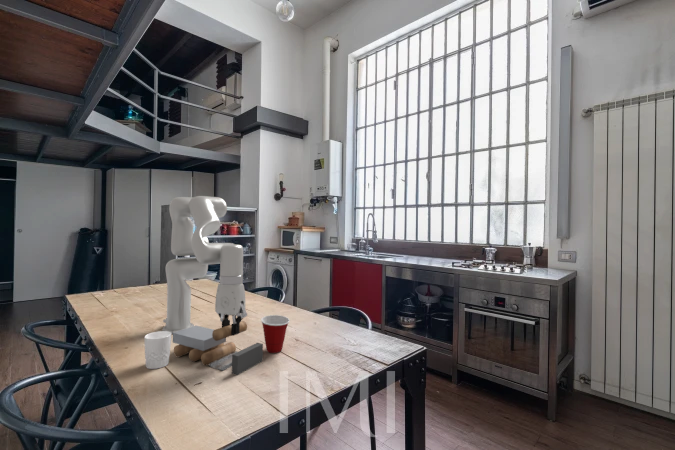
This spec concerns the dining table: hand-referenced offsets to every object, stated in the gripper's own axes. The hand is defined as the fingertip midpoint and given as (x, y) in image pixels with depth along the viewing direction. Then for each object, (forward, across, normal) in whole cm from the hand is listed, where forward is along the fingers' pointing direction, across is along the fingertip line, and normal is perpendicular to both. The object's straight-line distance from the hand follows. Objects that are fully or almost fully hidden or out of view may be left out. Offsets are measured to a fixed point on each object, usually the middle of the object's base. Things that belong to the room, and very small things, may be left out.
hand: (230, 332), depth 111 cm
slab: (+6, -15, 0) cm, 16 cm away
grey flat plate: (+10, 0, 0) cm, 10 cm away
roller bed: (+10, -12, 0) cm, 16 cm away
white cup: (+10, -19, -13) cm, 26 cm away
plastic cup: (+10, +7, +16) cm, 20 cm away
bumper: (+10, +8, 0) cm, 13 cm away
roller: (-1, -2, 0) cm, 2 cm away
